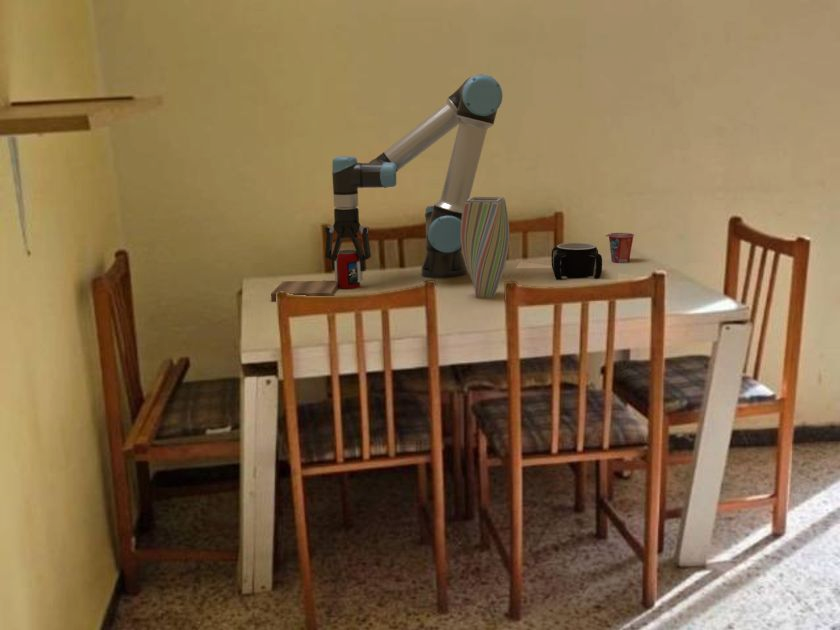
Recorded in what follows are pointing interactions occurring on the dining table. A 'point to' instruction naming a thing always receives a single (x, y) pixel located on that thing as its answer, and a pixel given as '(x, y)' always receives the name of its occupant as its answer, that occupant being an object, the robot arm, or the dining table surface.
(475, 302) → the dining table surface
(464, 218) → the vase
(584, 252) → the black round container
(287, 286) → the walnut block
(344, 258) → the beverage can
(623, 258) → the cup
